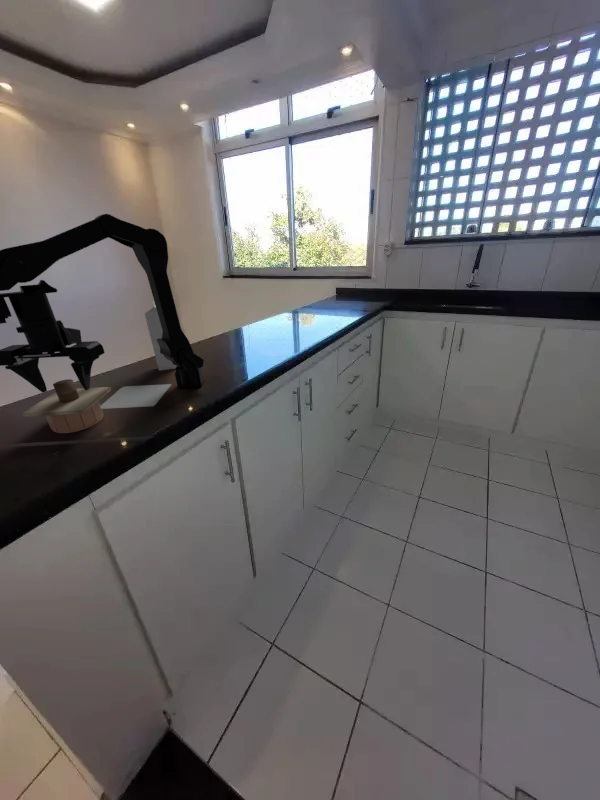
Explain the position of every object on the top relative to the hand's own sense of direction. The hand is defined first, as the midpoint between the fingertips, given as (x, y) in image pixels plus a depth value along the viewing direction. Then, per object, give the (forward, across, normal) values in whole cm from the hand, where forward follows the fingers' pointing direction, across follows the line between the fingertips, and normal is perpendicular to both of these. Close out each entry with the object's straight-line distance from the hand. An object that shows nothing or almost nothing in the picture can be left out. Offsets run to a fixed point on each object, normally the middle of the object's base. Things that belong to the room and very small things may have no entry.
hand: (66, 390), depth 68 cm
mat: (+8, -8, -13) cm, 17 cm away
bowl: (+8, 0, 0) cm, 8 cm away
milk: (+9, -9, -36) cm, 38 cm away
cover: (+3, 0, 0) cm, 3 cm away
